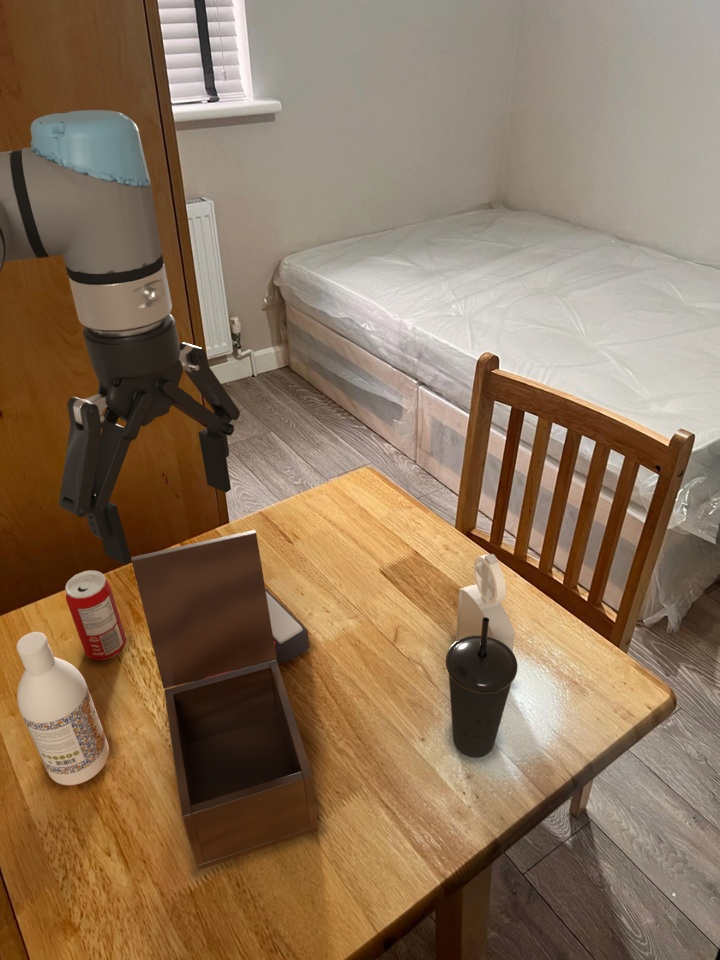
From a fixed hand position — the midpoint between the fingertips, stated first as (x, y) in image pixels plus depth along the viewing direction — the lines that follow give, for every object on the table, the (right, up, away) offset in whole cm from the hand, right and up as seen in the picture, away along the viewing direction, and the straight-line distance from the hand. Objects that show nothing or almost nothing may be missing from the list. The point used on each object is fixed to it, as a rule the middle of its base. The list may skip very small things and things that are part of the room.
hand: (172, 520), depth 73 cm
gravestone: (+35, -20, +23) cm, 46 cm away
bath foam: (-14, -29, +12) cm, 34 cm away
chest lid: (+3, -10, +6) cm, 12 cm away
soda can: (-16, -19, +27) cm, 36 cm away
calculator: (+3, -19, +25) cm, 32 cm away
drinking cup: (+32, -27, +13) cm, 44 cm away
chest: (+6, -30, +9) cm, 32 cm away
